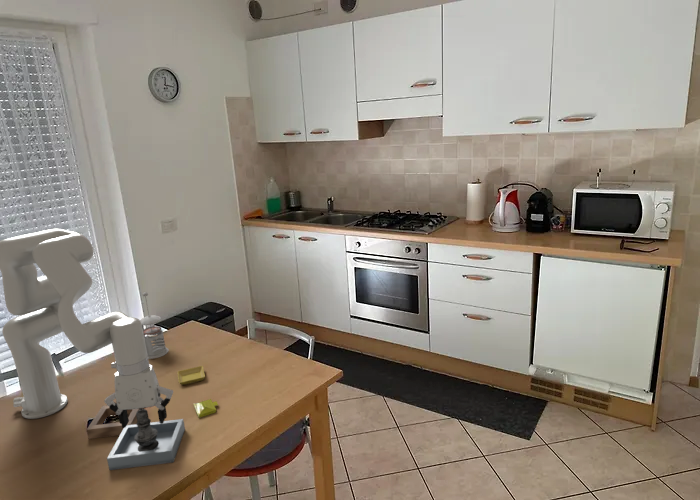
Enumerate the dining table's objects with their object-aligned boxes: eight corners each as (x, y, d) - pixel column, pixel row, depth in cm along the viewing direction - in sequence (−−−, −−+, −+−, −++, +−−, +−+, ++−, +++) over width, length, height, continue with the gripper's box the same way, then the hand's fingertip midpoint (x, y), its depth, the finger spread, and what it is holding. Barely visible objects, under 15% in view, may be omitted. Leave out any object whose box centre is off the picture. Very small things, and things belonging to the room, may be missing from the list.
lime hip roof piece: (188, 408, 151) (186, 400, 150) (217, 399, 155) (216, 391, 154) (194, 424, 142) (193, 416, 141) (225, 414, 146) (224, 405, 146)
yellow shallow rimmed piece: (206, 382, 165) (205, 376, 164) (179, 388, 162) (178, 382, 161) (203, 370, 173) (202, 365, 172) (178, 376, 170) (177, 371, 169)
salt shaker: (151, 454, 128) (143, 414, 125) (131, 452, 129) (123, 413, 126) (164, 439, 133) (156, 401, 130) (144, 438, 134) (137, 400, 131)
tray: (109, 470, 124) (106, 458, 123) (127, 436, 137) (125, 425, 136) (173, 462, 125) (171, 450, 124) (185, 429, 139) (183, 418, 138)
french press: (174, 350, 190) (164, 290, 183) (148, 363, 180) (137, 300, 174) (158, 345, 195) (148, 286, 188) (132, 357, 185) (120, 296, 179)
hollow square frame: (88, 438, 137) (86, 429, 136) (104, 414, 149) (102, 405, 148) (132, 433, 138) (130, 424, 138) (144, 409, 150) (142, 401, 149)
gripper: (92, 376, 120) (105, 435, 125) (163, 368, 122) (174, 427, 126) (103, 361, 128) (115, 418, 132) (171, 354, 129) (180, 411, 134)
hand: (144, 422), depth 129 cm, fingers open, 9 cm apart
